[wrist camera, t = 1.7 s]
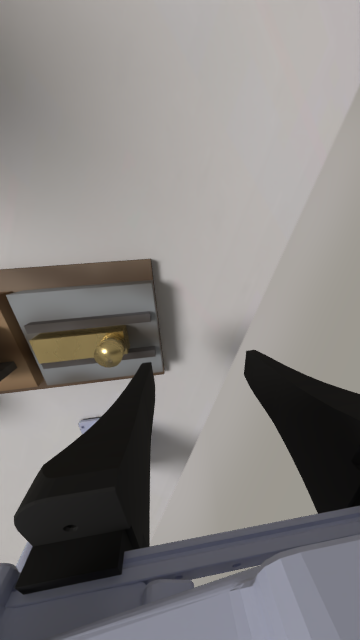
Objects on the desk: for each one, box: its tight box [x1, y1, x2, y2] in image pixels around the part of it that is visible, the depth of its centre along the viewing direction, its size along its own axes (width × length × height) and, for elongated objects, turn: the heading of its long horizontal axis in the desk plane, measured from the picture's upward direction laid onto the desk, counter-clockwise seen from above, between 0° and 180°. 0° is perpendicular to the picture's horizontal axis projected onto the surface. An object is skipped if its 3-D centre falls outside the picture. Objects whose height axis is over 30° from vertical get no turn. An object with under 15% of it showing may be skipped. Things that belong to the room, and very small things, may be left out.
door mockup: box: [0, 259, 164, 394], centre depth 16 cm, size 14×26×6 cm, turn 94°
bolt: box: [29, 325, 130, 368], centre depth 15 cm, size 2×8×4 cm, turn 94°
